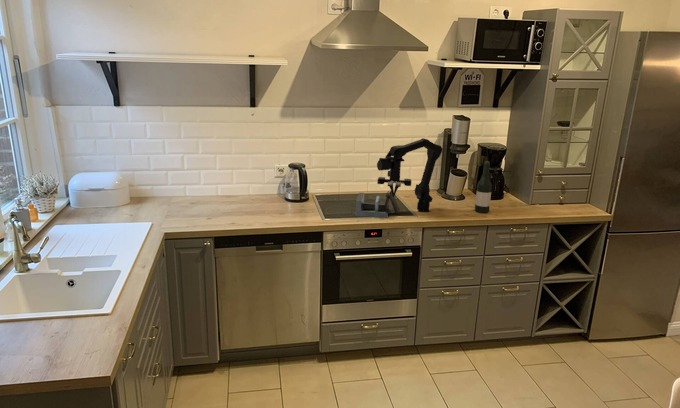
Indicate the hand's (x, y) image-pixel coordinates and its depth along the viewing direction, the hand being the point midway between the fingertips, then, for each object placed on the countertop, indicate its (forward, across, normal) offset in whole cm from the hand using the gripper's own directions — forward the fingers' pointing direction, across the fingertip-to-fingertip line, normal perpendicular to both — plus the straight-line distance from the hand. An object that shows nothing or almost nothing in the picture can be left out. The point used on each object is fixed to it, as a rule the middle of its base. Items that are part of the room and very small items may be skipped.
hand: (393, 196), depth 290 cm
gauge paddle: (+10, +9, +3) cm, 14 cm away
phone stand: (+10, +1, -2) cm, 10 cm away
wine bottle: (+11, -52, -17) cm, 55 cm away
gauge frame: (+11, +10, 0) cm, 15 cm away
